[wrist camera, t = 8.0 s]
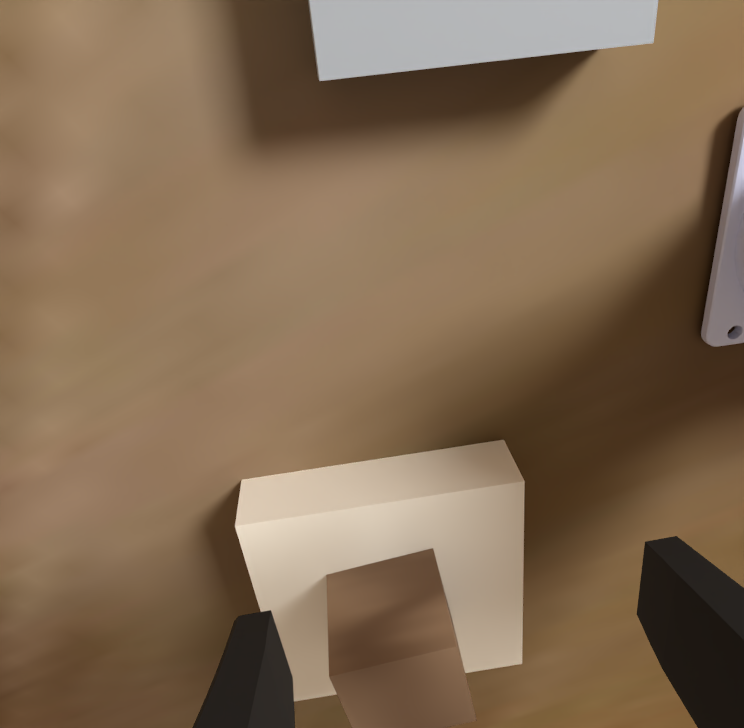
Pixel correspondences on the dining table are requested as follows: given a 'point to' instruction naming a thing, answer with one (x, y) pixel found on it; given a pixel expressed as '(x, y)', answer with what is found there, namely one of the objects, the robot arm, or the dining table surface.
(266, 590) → the cream block
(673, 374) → the dining table surface
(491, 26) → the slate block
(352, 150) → the dining table surface
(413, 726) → the walnut cube
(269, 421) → the dining table surface
